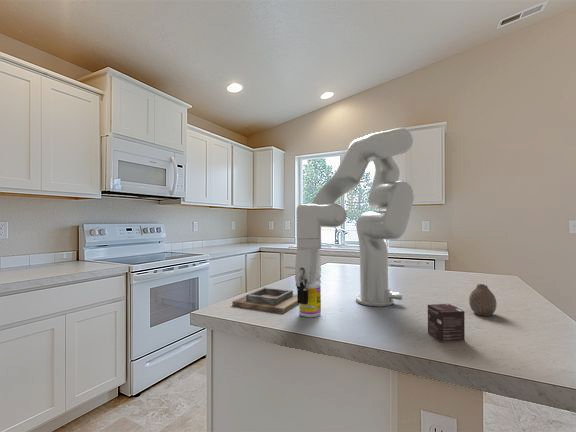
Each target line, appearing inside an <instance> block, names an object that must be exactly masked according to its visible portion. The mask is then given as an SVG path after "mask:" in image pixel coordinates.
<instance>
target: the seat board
mask: <svg viewBox="0 0 576 432" xmlns="http://www.w3.org/2000/svg"><path fill="white" fill-rule="evenodd" d="M293 291H294V290H290V289H280V288H272V287H262V288H260V289H258V290H254V291H252V292H250V293H248V294H246V295H244V296H242V297H240V298H237V299H235V300H232V303H231V304H232V306H233V307H239V308H246V309H252V310H258V311H265V312H272V313H279V314H285V313H287V312H288V311H290V310H291V309H293V308H295V307H296V306H299V303H298V302H297V294H293V293H294V292H293Z"/></svg>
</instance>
